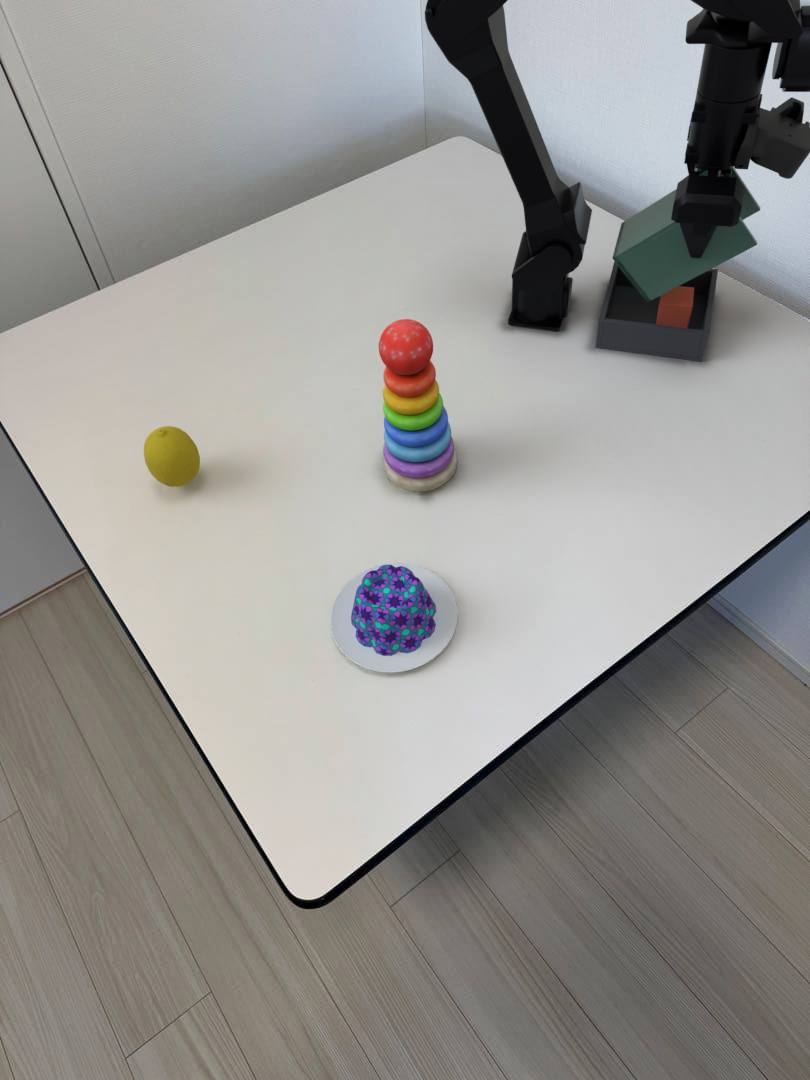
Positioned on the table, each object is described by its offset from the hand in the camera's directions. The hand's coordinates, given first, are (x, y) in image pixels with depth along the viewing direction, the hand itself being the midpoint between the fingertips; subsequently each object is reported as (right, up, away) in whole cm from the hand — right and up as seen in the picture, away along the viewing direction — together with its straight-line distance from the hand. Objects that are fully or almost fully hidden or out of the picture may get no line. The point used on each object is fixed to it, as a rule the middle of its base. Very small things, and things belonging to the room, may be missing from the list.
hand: (699, 237), depth 89 cm
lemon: (-57, -27, +1) cm, 63 cm away
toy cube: (0, -6, +9) cm, 11 cm away
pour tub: (-6, -1, +5) cm, 8 cm away
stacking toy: (-30, -25, -1) cm, 39 cm away
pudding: (-33, -41, -12) cm, 54 cm away
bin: (-2, -6, +10) cm, 12 cm away
